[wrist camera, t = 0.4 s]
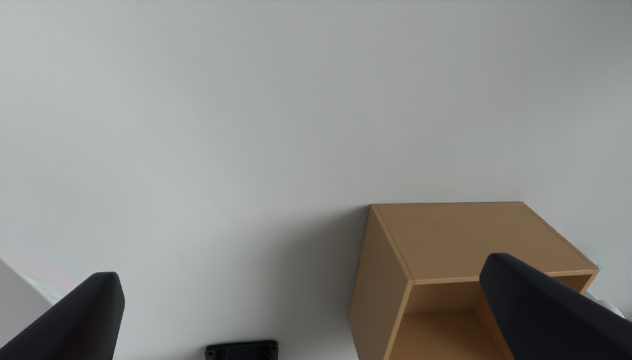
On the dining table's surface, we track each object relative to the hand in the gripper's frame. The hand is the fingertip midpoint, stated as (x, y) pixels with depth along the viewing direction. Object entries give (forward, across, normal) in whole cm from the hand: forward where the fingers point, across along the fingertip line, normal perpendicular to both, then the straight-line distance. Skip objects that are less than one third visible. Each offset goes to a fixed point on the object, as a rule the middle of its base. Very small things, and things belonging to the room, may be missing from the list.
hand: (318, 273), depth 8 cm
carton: (+14, -13, +14) cm, 24 cm away
